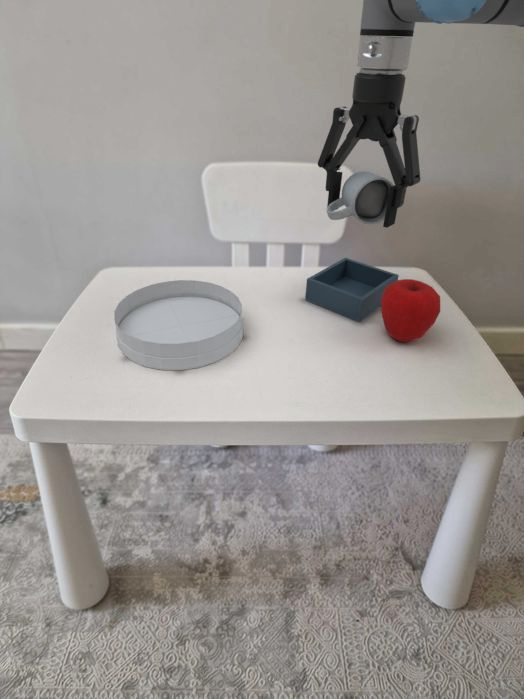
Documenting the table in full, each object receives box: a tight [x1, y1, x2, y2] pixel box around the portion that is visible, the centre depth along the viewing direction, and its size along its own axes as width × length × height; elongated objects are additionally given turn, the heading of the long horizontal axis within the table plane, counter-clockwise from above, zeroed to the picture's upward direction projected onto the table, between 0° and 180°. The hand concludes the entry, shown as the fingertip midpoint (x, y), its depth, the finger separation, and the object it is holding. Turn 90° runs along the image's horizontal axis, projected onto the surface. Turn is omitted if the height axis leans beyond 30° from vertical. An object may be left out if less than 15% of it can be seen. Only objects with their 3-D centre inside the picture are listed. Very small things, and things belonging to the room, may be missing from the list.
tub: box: [304, 257, 400, 323], centre depth 91 cm, size 13×14×5 cm
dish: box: [113, 279, 244, 371], centre depth 80 cm, size 22×22×5 cm
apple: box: [380, 278, 441, 343], centre depth 78 cm, size 10×10×11 cm
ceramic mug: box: [326, 170, 394, 225], centre depth 79 cm, size 11×8×8 cm
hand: (359, 217), depth 80 cm, fingers closed on ceramic mug, 11 cm apart
